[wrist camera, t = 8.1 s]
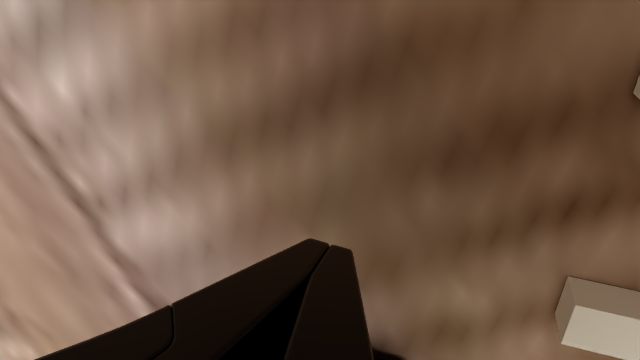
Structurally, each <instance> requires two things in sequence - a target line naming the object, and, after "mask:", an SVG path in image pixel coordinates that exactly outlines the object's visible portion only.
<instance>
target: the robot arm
mask: <svg viewBox="0 0 640 360" xmlns="http://www.w3.org/2000/svg"><path fill="white" fill-rule="evenodd" d="M35 360H402V359H399V358H396V357H393V356H389V355H385V354H381V353H378V352H374V351H372V349H371V344H370V338H369V333H368V328H367V323H366V318H365V313H364V308H363V303H362V298H361V293H360V288H359V283H358V277H357V272H356V267H355V262H354V257H353V253H352V251H351V250H350V249H347V248H343V247H340V246H336V245H331V246H329V244H328V243H325V242H322V241H318V240H315V239H306V240H304V241H302V242H300V243H298V244H296V245H294V246H292V247H289V248H287V249H285V250H283V251H281V252H279V253H277V254H275V255H273V256H271V257H268V258H266V259H264V260H262V261H260V262H258V263H256V264H254V265H252V266H250V267H247V268H245V269H243V270H241V271H239V272H237V273H235V274H233V275H231V276H229V277H226V278H224V279H222V280H220V281H218V282H216V283H214V284H212V285H210V286H208V287H205V288H203V289H201V290H199V291H197V292H195V293H193V294H191V295H189V296H187V297H184V298H182V299H180V300H178V301H176V302H174V303H172V305H171V306H170V305H167V306H165V307H163V308H161V309H159V310H157V311H155V312H153V313H151V314H148V315H146V316H144V317H142V318H139V319H137V320H135V321H133V322H130V323H128V324H126V325H124V326H121V327H119V328H116V329H114V330H111V331H109V332H106V333H104V334H101V335H99V336H96V337H94V338H91V339H89V340H86V341H83V342H81V343H78V344H75V345H72V346H70V347H67V348H64V349H62V350H59V351H56V352H54V353H51V354H48V355H46V356H43V357H40V358H38V359H35Z"/></svg>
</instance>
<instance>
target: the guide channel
mask: <svg viewBox="0 0 640 360" xmlns="http://www.w3.org/2000/svg"><path fill="white" fill-rule="evenodd" d="M633 94H634V95H636V96H637V97H638V98H639V99H640V75H639V78H638V80H637V83H636V86H635V89H634V92H633ZM555 317H556V322H557V327H558V332H559V337H560V342H561V344H563V345H567V346H572V347H576V348H580V349H584V350H588V351H592V352H596V353H600V354H604V355H608V356H612V357H616V358H620V359H624V360H640V292H639V291H634V290H629V289H625V288H620V287H616V286H611V285H606V284H602V283H597V282H592V281H588V280H583V279H579V278H574V277H569V276H568V277H567V280H566V283H565V286H564V288H563V291H562V294H561V297H560V300H559V303H558V305H557V308H556V311H555Z"/></svg>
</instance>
